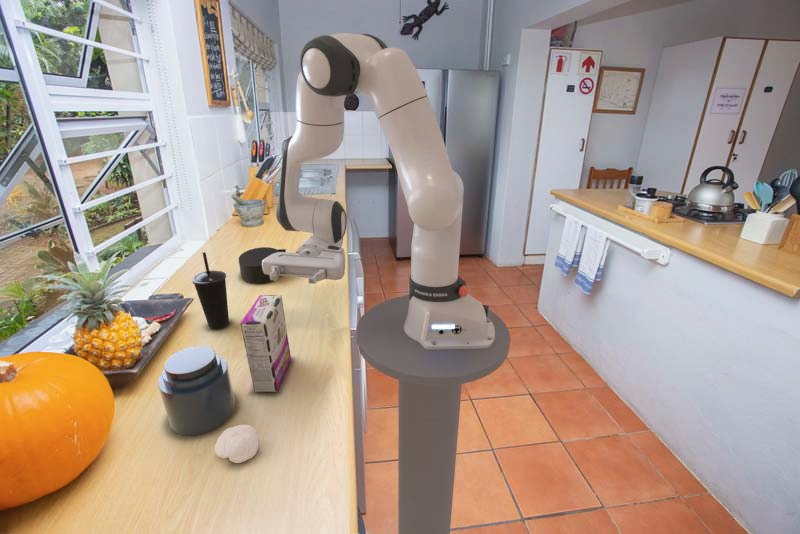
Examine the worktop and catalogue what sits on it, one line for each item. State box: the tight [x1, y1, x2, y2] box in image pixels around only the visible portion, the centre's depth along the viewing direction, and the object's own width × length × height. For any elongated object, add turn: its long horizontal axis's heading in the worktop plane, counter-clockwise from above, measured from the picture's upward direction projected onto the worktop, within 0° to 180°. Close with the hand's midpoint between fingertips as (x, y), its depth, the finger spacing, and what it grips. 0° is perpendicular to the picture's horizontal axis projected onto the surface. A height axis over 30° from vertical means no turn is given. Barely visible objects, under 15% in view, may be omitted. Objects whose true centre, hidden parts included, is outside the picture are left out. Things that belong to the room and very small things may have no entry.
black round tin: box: [238, 246, 287, 285], centre depth 130 cm, size 14×18×8 cm
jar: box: [157, 345, 236, 437], centre depth 69 cm, size 11×11×12 cm
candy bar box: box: [239, 294, 292, 393], centre depth 78 cm, size 11×5×16 cm, turn 0°
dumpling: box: [214, 424, 259, 464], centre depth 63 cm, size 7×5×4 cm
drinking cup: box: [191, 251, 230, 330], centre depth 96 cm, size 8×8×20 cm
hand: (292, 279), depth 89 cm, fingers open, 8 cm apart
